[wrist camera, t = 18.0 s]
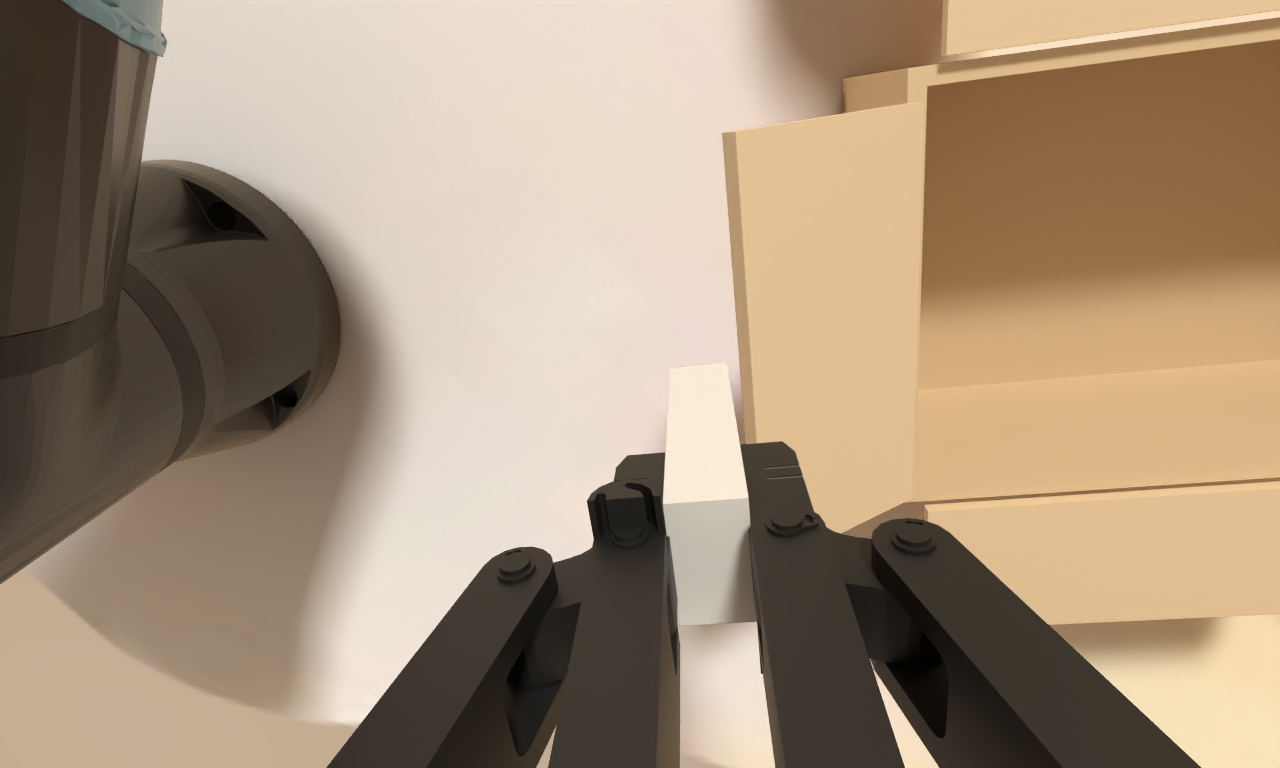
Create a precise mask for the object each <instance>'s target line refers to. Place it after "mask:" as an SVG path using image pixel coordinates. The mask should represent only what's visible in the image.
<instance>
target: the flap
mask: <svg viewBox="0 0 1280 768" xmlns="http://www.w3.org/2000/svg"><path fill="white" fill-rule="evenodd" d="M923 117H924V102H914V103H905V104H899V105H893V106H887V107H880V108H874V109H868V110H862V111H855V112H849V113H843V114H837V115H830V116H824V117H818V118H812V119H805V120H799V121H793V122H787V123H781V124H774V125H768V126H762V127H756V128H749V129H743V130H737V131H731V132H724V133H722V136H723V150H724V163H725V176H726V190H727V203H728V216H729V230H730V243H731V256H732V270H733V283H734V296H735V310H736V323H737V336H738V350H739V363H740V376H741V389H742V403H743V416H744V429H745V443H746V444H755V443H767V442H779V441H783V442H784V443H785V444H786V445H788V446H789V447H790V448H791V449H793V450H794V451H795V452H796V456H797V459H798V462H799V467H800V468H801V471H802V475H803V478H804V481H805V484H806V487H807V490H808V494H809V497H810V500H811V503H812V506H813V510H814V512H815V513H817V514H819V515H820V517H821V518H822V519H823V521H824V522H825V525H826V527H827V528H829V529H831V530H832V531H835V532H837V533H840V534H841V533H843V532H845V531H847V530H849V529H851V528H853V527H855V526H857V525H859V524H861V523H863V522H865V521H868V520H870V519H872V518H874V517H876V516H878V515H880V514H882V513H884V512H886V511H888V510H890V509H892V508H894V507H896V506H898V505H900V504H902V503H904V502H906V501H908V500H910V499H912V494H913V460H914V426H915V391H916V357H917V323H918V289H919V254H920V220H921V186H922V151H923Z"/></svg>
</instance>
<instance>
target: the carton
mask: <svg viewBox="0 0 1280 768" xmlns="http://www.w3.org/2000/svg"><path fill="white" fill-rule="evenodd" d="M1277 10H1280V0H943V11H942V38H941V57H942V56H949V55H956V54H963V53H971V52H978V51H985V50H993V49H1000V48H1007V47H1014V46H1022V45H1029V44H1036V43H1044V42H1051V41H1058V40H1065V39H1073V38H1080V37H1087V36H1095V35H1102V34H1109V33H1116V32H1124V31H1131V30H1138V29H1145V28H1153V27H1160V26H1167V25H1175V24H1182V23H1189V22H1196V21H1204V20H1211V19H1218V18H1226V17H1233V16H1240V15H1247V14H1255V13H1262V12H1269V11H1277ZM914 102H924V117H923V151H922V186H921V220H920V254H919V289H918V323H917V357H916V391H915V426H914V460H913V494H912V499H910V500H908V501H906V502H921V501H936V500H951V499H966V498H980V497H995V496H1010V495H1025V494H1040V493H1055V492H1070V491H1085V490H1099V489H1114V488H1129V487H1144V486H1159V485H1174V484H1189V483H1204V482H1218V481H1233V480H1248V479H1263V478H1278V477H1280V17H1279V18H1272V19H1264V20H1257V21H1250V22H1242V23H1235V24H1228V25H1220V26H1213V27H1206V28H1198V29H1191V30H1184V31H1176V32H1169V33H1162V34H1154V35H1147V36H1140V37H1132V38H1125V39H1118V40H1110V41H1103V42H1096V43H1088V44H1081V45H1074V46H1066V47H1059V48H1051V49H1044V50H1037V51H1029V52H1022V53H1015V54H1007V55H1000V56H993V57H985V58H978V59H971V60H963V61H956V62H949V63H941V64H934V65H927V66H919V67H912V68H905V69H899V70H893V71H886V72H880V73H874V74H867V75H861V76H855V77H849V78H843V113H849V112H855V111H862V110H868V109H874V108H880V107H887V106H893V105H899V104H905V103H914ZM906 502H904V503H906ZM924 520H925V521H928V522H930V523H933V524H936V525H939V526H940V527H942V528H943V529H945V530H946V531H948V532H950V533H951V534H952V535H953V536H954V537H955V538H956V539H957V540H958V541H959V542H960V543H961V544H963V545H964V546H965V547H966V548H967V549H968V550H969V551H970V552H971V553H972V554H973V555H974V556H975V557H976V558H977V559H979V560H980V561H981V562H982V563H983V564H984V565H985V566H986V567H987V568H988V569H989V570H990V571H991V572H992V573H994V574H995V575H996V576H997V577H998V578H999V579H1000V580H1001V581H1002V582H1003V583H1004V584H1005V585H1006V586H1007V587H1009V588H1010V589H1011V590H1012V591H1013V592H1014V593H1015V594H1016V595H1017V596H1018V597H1019V598H1020V599H1021V600H1022V601H1023V602H1025V603H1026V604H1027V605H1028V606H1029V607H1030V608H1031V609H1032V610H1033V611H1034V612H1035V613H1036V614H1037V615H1038V616H1040V617H1041V618H1042V619H1043V620H1044V621H1045V622H1046V623H1047V624H1048V625H1057V624H1078V623H1099V622H1121V621H1142V620H1164V619H1185V618H1207V617H1228V616H1249V615H1271V614H1280V481H1274V482H1259V483H1244V484H1229V485H1214V486H1199V487H1184V488H1169V489H1154V490H1139V491H1124V492H1109V493H1094V494H1079V495H1064V496H1049V497H1034V498H1019V499H1004V500H989V501H974V502H959V503H944V504H929V505H924Z"/></svg>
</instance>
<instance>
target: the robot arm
mask: <svg viewBox="0 0 1280 768" xmlns="http://www.w3.org/2000/svg"><path fill="white" fill-rule="evenodd" d="M162 6H163V0H0V584H1V583H3V582H4V581H6V580H7V579H8V578H10V577H11V576H12V575H14V574H16V573H17V572H18V571H20V570H21V569H23V568H24V567H26V566H27V565H28V564H30V563H31V562H33V561H34V560H35V559H37V558H38V557H40V556H41V555H43V554H44V553H45V552H47V551H48V550H50V549H51V548H53V547H54V546H55V545H57V544H58V543H60V542H61V541H62V540H64V539H65V538H67V537H68V536H70V535H71V534H72V533H74V532H75V531H77V530H78V529H80V528H81V527H82V526H84V525H85V524H87V523H88V522H89V521H91V520H92V519H94V518H95V517H97V516H98V515H99V514H101V513H102V512H104V511H105V510H107V509H108V508H109V507H111V506H112V505H114V504H115V503H116V502H118V501H119V500H121V499H122V498H124V497H125V496H126V495H128V494H129V493H131V492H132V491H134V490H135V489H136V488H138V487H139V486H141V485H142V484H143V483H145V482H146V481H148V480H149V479H150V478H152V477H153V476H155V475H156V474H157V473H159V472H160V471H162V470H163V469H165V468H166V467H168V466H169V465H171V464H172V463H174V462H176V461H180V460H184V459H188V458H192V457H196V456H200V455H204V454H208V453H212V452H216V451H220V450H224V449H228V448H232V447H236V446H240V445H244V444H247V443H251V442H254V441H257V440H259V439H262V438H264V437H266V436H268V435H270V434H272V433H274V432H276V431H277V430H279V429H281V428H282V427H284V426H285V425H286V424H288V423H289V422H290V421H291V420H293V419H294V418H295V417H297V416H298V415H299V414H300V413H302V412H303V411H304V410H305V409H307V408H308V407H309V406H310V405H311V404H312V403H313V402H314V401H315V400H316V399H317V398H318V396H319V395H320V394H321V393H322V391H323V390H324V388H325V386H326V385H327V383H328V381H329V379H330V377H331V375H332V372H333V370H334V367H335V364H336V361H337V356H338V351H339V343H340V320H339V312H338V307H337V302H336V298H335V294H334V290H333V288H332V285H331V282H330V279H329V277H328V274H327V272H326V270H325V268H324V266H323V264H322V262H321V260H320V258H319V256H318V255H317V253H316V251H315V250H314V248H313V246H312V245H311V243H310V242H309V240H308V239H307V238H306V236H305V235H304V234H303V232H302V231H301V230H300V229H299V228H298V226H297V225H296V224H295V223H294V222H293V221H292V220H291V219H290V218H289V217H288V216H287V215H286V213H284V212H283V211H282V210H281V209H280V208H279V207H278V206H277V205H276V204H275V203H273V202H272V201H271V200H270V199H268V198H267V197H266V196H264V195H263V194H262V193H260V192H259V191H257V190H256V189H254V188H253V187H251V186H250V185H248V184H246V183H245V182H243V181H241V180H239V179H237V178H235V177H233V176H231V175H229V174H227V173H225V172H222V171H219V170H217V169H214V168H211V167H208V166H204V165H201V164H196V163H192V162H186V161H178V160H152V161H143V162H141V159H142V152H143V145H144V138H145V131H146V124H147V117H148V110H149V103H150V97H151V91H152V85H153V79H154V74H155V68H156V62H157V56H161V57H163V55H164V52H165V49H166V45H167V40H166V38H165V37H164V35H163V33H162V32H161V19H162ZM587 504H588V509H589V515H590V520H591V526H592V531H593V537H594V542H593V547H592V548H591V549H590V550H588V551H586V552H584V553H582V554H580V555H578V556H575V557H572V558H569V559H565V560H562V561H558V562H555V563H553V561H552V557H551V555H550V554H549V553H547V552H546V551H545V550H543V549H539V548H535V547H518V548H514V549H511V550H508V551H504V552H503V553H501V554H499V555H497V556H495V557H493V558H492V559H491V560H490V561H489V562H488V563H486V564H485V565H484V566H483V568H482V569H481V570H480V571H479V573H478V574H477V575H476V576H475V578H474V579H473V580H472V582H471V583H470V584H469V585H468V587H467V588H466V589H465V591H464V592H463V593H462V594H461V596H460V597H459V598H458V600H457V601H456V602H455V603H454V605H453V606H452V607H451V609H450V610H449V611H448V612H447V614H446V615H445V616H444V618H443V619H442V620H441V621H440V623H439V624H438V625H437V627H436V628H435V629H434V630H433V632H432V633H431V634H430V636H429V637H428V638H427V639H426V641H425V642H424V643H423V644H422V646H421V647H420V648H419V650H418V651H417V652H416V653H415V655H414V656H413V657H412V659H411V660H410V661H409V662H408V664H407V665H406V666H405V668H404V669H403V670H402V671H401V673H400V674H399V675H398V677H397V678H396V679H395V680H394V682H393V683H392V684H391V686H390V687H389V688H388V689H387V691H386V692H385V693H384V695H383V696H382V697H381V698H380V700H379V701H378V702H377V704H376V705H375V706H374V707H373V709H372V710H371V711H370V712H369V714H368V715H367V716H366V718H365V719H364V720H363V721H362V723H361V724H360V725H359V727H358V728H357V729H356V730H355V732H354V733H353V734H352V736H351V737H350V738H349V740H348V741H347V742H346V743H345V745H344V746H343V747H342V748H341V750H340V751H339V752H338V754H337V755H336V756H335V757H334V759H333V760H332V761H331V763H330V764H329V765H328V766H327V768H536V767H537V765H538V763H539V760H540V758H541V756H542V754H543V752H544V750H545V748H546V746H547V744H548V742H549V739H550V737H551V735H552V733H553V731H554V729H555V727H556V731H555V736H554V741H553V746H552V751H551V756H550V761H549V766H548V768H680V763H679V762H680V642H679V634H678V627H677V616H678V624H679V626H684V625H702V624H720V623H738V622H756V621H757V626H758V639H759V652H760V666H761V674H763V678H764V685H765V693H766V700H767V708H768V715H769V723H770V730H771V738H772V745H773V753H774V760H775V768H905V767H904V763H903V760H902V757H901V754H900V751H899V748H898V745H897V742H896V739H895V736H894V733H893V730H892V727H891V724H890V721H889V718H888V715H887V711H886V708H885V705H884V702H883V699H882V696H881V693H880V690H879V687H878V684H877V681H876V678H875V675H874V672H873V669H872V666H871V663H870V659H871V661H872V664H873V666H874V669H875V671H876V673H877V674H878V676H879V677H880V679H881V680H882V682H883V683H884V685H885V686H886V688H887V689H888V691H889V692H890V694H891V695H892V697H893V698H894V700H895V701H896V703H897V704H898V706H899V707H900V709H901V710H902V712H903V713H904V715H905V716H906V718H907V719H908V721H909V722H910V724H911V726H912V727H913V729H914V730H915V732H916V733H917V735H918V736H919V738H920V739H921V741H922V742H923V744H924V745H925V747H926V748H927V750H928V751H929V753H930V754H931V756H932V757H933V759H934V760H935V762H936V763H937V765H938V766H939V768H1201V767H1200V766H1199V765H1198V764H1197V763H1196V762H1195V761H1194V760H1193V759H1191V758H1190V757H1189V756H1188V755H1187V754H1186V753H1185V752H1184V751H1183V750H1182V749H1181V748H1180V747H1179V746H1178V745H1176V744H1175V743H1174V742H1173V741H1172V740H1171V739H1170V738H1169V737H1168V736H1167V735H1166V734H1165V733H1164V732H1163V731H1161V730H1160V729H1159V728H1158V727H1157V726H1156V725H1155V724H1154V723H1153V722H1152V721H1151V720H1150V719H1149V718H1148V717H1147V716H1145V715H1144V714H1143V713H1142V712H1141V711H1140V710H1139V709H1138V708H1137V707H1136V706H1135V705H1134V704H1133V703H1132V702H1130V701H1129V700H1128V699H1127V698H1126V697H1125V696H1124V695H1123V694H1122V693H1121V692H1120V691H1119V690H1118V689H1117V688H1115V687H1114V686H1113V685H1112V684H1111V683H1110V682H1109V681H1108V680H1107V679H1106V678H1105V677H1104V676H1103V675H1102V674H1101V673H1099V672H1098V671H1097V670H1096V669H1095V668H1094V667H1093V666H1092V665H1091V664H1090V663H1089V662H1088V661H1087V660H1086V659H1084V658H1083V657H1082V656H1081V655H1080V654H1079V653H1078V652H1077V651H1076V650H1075V649H1074V648H1073V647H1072V646H1071V645H1069V644H1068V643H1067V642H1066V641H1065V640H1064V639H1063V638H1062V637H1061V636H1060V635H1059V634H1058V633H1057V632H1056V631H1055V630H1053V629H1052V628H1051V627H1050V626H1049V625H1048V624H1047V623H1046V622H1045V621H1044V620H1043V619H1042V618H1041V617H1040V616H1038V615H1037V614H1036V613H1035V612H1034V611H1033V610H1032V609H1031V608H1030V607H1029V606H1028V605H1027V604H1026V603H1025V602H1023V601H1022V600H1021V599H1020V598H1019V597H1018V596H1017V595H1016V594H1015V593H1014V592H1013V591H1012V590H1011V589H1010V588H1009V587H1007V586H1006V585H1005V584H1004V583H1003V582H1002V581H1001V580H1000V579H999V578H998V577H997V576H996V575H995V574H994V573H992V572H991V571H990V570H989V569H988V568H987V567H986V566H985V565H984V564H983V563H982V562H981V561H980V560H979V559H977V558H976V557H975V556H974V555H973V554H972V553H971V552H970V551H969V550H968V549H967V548H966V547H965V546H964V545H963V544H961V543H960V542H959V541H958V540H957V539H956V538H955V537H954V536H953V535H952V534H951V533H950V532H948V531H946V530H945V529H943V528H942V527H940V526H939V525H936V524H933V523H930V522H928V521H925V520H918V519H910V518H906V519H895V520H891V521H888V522H885V523H883V524H880V525H879V526H878V527H877V528H876V529H875V530H874V531H873V535H872V539H866V538H858V537H852V536H847V535H843V534H840V533H837V532H835V531H832V530H831V529H829V528H827V527H826V525H825V522H824V521H823V519H822V518H821V517H820V515H819V514H817V513H815V512H814V510H813V506H812V503H811V500H810V497H809V494H808V490H807V487H806V484H805V481H804V478H803V475H802V471H801V468H800V467H799V462H798V459H797V456H796V452H795V451H794V450H793V449H791V448H790V447H789V446H788V445H786V444H785V443H784V442H783V441H779V442H767V443H755V444H743V445H740V442H739V436H738V429H737V423H736V417H735V411H734V405H733V398H732V392H731V386H730V380H729V374H728V367H727V363H717V364H707V365H696V366H686V367H675V368H670V377H669V396H668V415H667V434H666V452H665V453H653V454H641V455H629V456H627V457H626V458H625V459H624V460H623V461H622V462H621V463H620V464H619V465H618V466H617V467H616V472H615V478H614V482H611V483H608V484H606V485H604V486H601V487H599V488H598V489H597V490H595V491H594V492H593V493H592V494H591V495H590V497H589V499H588V500H587ZM556 725H557V726H556Z"/></svg>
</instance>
